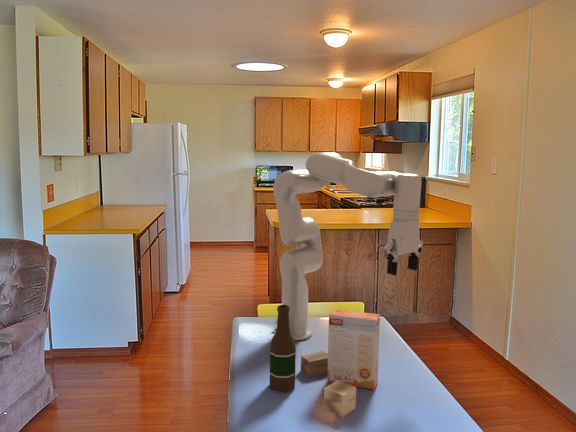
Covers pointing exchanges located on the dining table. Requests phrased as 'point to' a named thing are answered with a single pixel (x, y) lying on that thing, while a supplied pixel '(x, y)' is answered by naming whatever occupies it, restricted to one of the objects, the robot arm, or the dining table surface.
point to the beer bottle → (282, 354)
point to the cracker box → (353, 348)
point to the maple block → (339, 398)
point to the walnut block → (314, 363)
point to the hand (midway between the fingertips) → (402, 271)
